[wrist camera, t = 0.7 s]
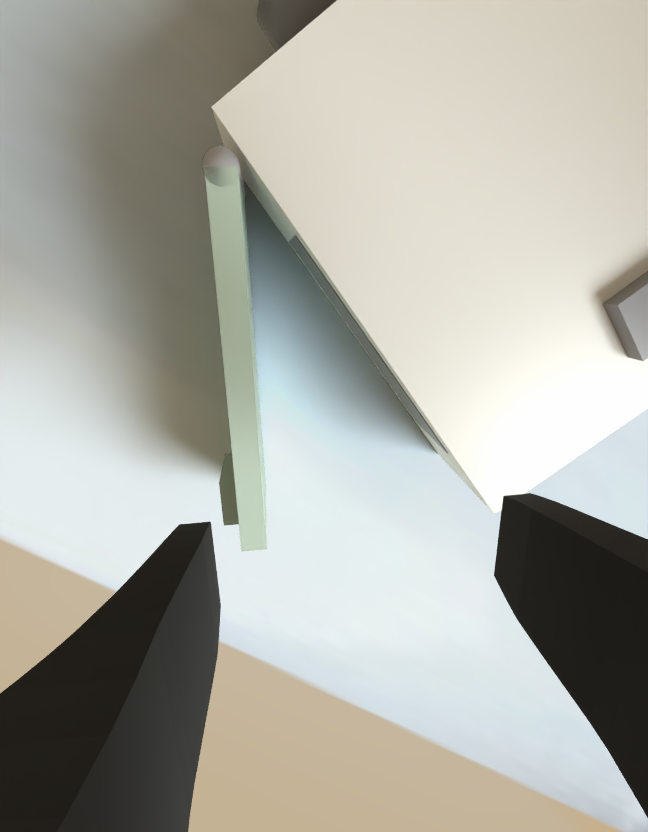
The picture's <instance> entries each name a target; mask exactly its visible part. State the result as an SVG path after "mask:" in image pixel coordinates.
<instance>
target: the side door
mask: <svg viewBox="0 0 648 832" xmlns="http://www.w3.org/2000/svg"><path fill="white" fill-rule="evenodd" d="M202 169H203V173H204V175H205V180H206V190H207V201H208V211H209V221H210V232H211V242H212V252H213V262H214V273H215V283H216V293H217V304H218V314H219V324H220V335H221V345H222V355H223V365H224V376H225V386H226V396H227V407H228V417H229V427H230V437H231V448H232V453H230V454H225V456H224V461H223V466H222V472H221V477H220V482H219V485H220V494H221V503H222V512H223V522H224V525H234V524H239V530H240V540H241V551H251V550H261V549H267V543H266V484H265V470H264V457H263V443H262V429H261V415H260V402H259V388H258V374H257V360H256V347H255V333H254V319H253V306H252V292H251V278H250V264H249V251H248V237H247V223H246V210H245V198H246V191H245V187H244V183H243V178H242V174H241V169H240V165H239V161H238V159H237V157H236V155H235V154H234V152H233V151H231V150H230V149H229V148H227V147H224V146H214V147H211V148H210V149H209V150H207V151H206V153H205V154H204V156H203V160H202Z"/></svg>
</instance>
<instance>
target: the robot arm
mask: <svg viewBox="0 0 648 832" xmlns="http://www.w3.org/2000/svg"><path fill="white" fill-rule="evenodd" d="M494 576H495V578H496V580H497V582H498V584H499V586H500V588H501V590H502V592H503V594H504V596H505V598H506V600H507V602H508V604H509V605H510V607H511V609H512V611H513V613H514V614H515V616H516V618H517V620H518V621H519V623H520V624H521V626H522V627H523V628H524V630H525V631H526V633H527V634H528V636H529V637H530V639H531V640H532V641H533V643H534V644H535V646H536V647H537V649H538V650H539V652H540V653H541V654H542V656H543V657H544V659H545V660H546V661H547V663H548V664H549V666H550V667H551V668H552V670H553V671H554V673H555V674H556V675H557V677H558V678H559V680H560V681H561V683H562V684H563V685H564V687H565V688H566V690H567V691H568V692H569V694H570V695H571V697H572V698H573V699H574V701H575V702H576V704H577V705H578V706H579V708H580V709H581V711H582V712H583V714H584V715H585V716H586V718H587V719H588V721H589V722H590V723H591V725H592V726H593V728H594V730H595V731H596V733H597V734H598V736H599V737H600V739H601V740H602V742H603V743H604V745H605V746H606V748H607V749H608V751H609V753H610V754H611V756H612V758H613V759H614V761H615V763H616V764H617V766H618V768H619V770H620V771H621V773H622V775H623V776H624V778H625V780H626V781H627V783H628V785H629V787H630V788H631V790H632V792H633V793H634V795H635V797H636V798H637V800H638V802H639V804H640V805H641V807H642V809H643V810H644V812H645V814H646V816H647V817H648V539H645V538H643V537H640V536H638V535H635V534H633V533H631V532H628V531H626V530H623V529H621V528H618V527H616V526H614V525H611V524H609V523H606V522H604V521H602V520H599V519H597V518H594V517H592V516H590V515H587V514H585V513H582V512H580V511H578V510H575V509H573V508H570V507H568V506H565V505H563V504H560V503H557V502H555V501H552V500H549V499H547V498H544V497H541V496H537V495H534V494H531V493H529V494H517V495H506V496H503V504H502V512H501V521H500V529H499V538H498V546H497V555H496V563H495V572H494ZM220 608H221V604H220V596H219V587H218V579H217V571H216V562H215V554H214V546H213V538H212V529H211V522H203V523H191V524H180V525H179V526H178V527H177V528H176V529H175V530H174V531H173V532H172V533H171V534H170V535H169V536H168V537H167V538H166V539H165V540H164V542H163V543H162V544H161V545H160V546H159V547H158V548H157V549H156V550H155V552H154V553H153V554H152V555H151V556H150V557H149V558H148V559H147V560H146V561H145V563H144V564H143V565H142V566H141V567H140V568H139V569H138V570H137V571H136V572H135V573H134V574H133V575H132V576H131V577H130V578H129V579H128V581H127V582H126V583H125V584H124V585H123V586H122V587H121V588H120V589H119V590H118V591H117V592H116V593H115V594H114V595H113V596H112V597H111V598H110V599H109V600H108V601H107V602H106V603H105V604H104V605H103V606H102V607H101V608H99V609H98V610H97V611H96V613H94V614H93V615H92V616H91V617H90V618H89V619H88V620H87V621H86V622H85V623H84V624H83V625H82V626H81V627H80V628H79V629H77V630H76V631H75V632H74V633H73V634H72V635H71V636H70V637H69V638H67V639H66V640H65V641H64V642H63V643H62V644H61V645H59V646H58V647H57V648H56V649H55V650H54V651H52V652H51V653H50V654H49V655H48V656H46V657H45V658H44V659H43V660H42V661H40V662H39V663H38V664H37V665H36V666H34V667H33V668H32V669H30V670H29V671H28V672H27V673H26V674H24V675H23V676H22V677H21V678H20V679H18V680H17V681H16V682H15V683H13V684H12V685H11V686H9V687H8V688H7V689H5V690H4V691H3V692H2V693H0V832H188V827H189V816H190V809H191V803H192V796H193V789H194V783H195V777H196V772H197V766H198V761H199V755H200V749H201V743H202V738H203V733H204V727H205V722H206V716H207V711H208V705H209V700H210V694H211V689H212V683H213V678H214V671H215V665H216V660H217V653H218V640H219V625H220Z"/></svg>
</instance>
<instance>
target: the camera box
mask: <svg viewBox="0 0 648 832" xmlns="http://www.w3.org/2000/svg"><path fill="white" fill-rule="evenodd" d="M257 19H258V22H259V25H260V26H261V28H262V30H263V31H264V33H265V34H266V36H267V38H268V39H269V41H270V43H271V44H272V46H273V47H274V49H275V51H276V52H275V53H274V54H273V55H272V56H271V57H269V58H268V59H267V60H266V61H265V62H264V63H262V64H261V65H260V66H259V67H258V68H257V69H255V70H254V71H253V72H252V73H251V74H249V75H248V76H247V77H246V78H245V79H244V80H242V81H241V82H240V83H239V84H238V85H236V86H235V87H234V88H233V89H232V90H231V91H229V92H228V93H227V94H226V95H225V96H223V97H222V98H221V99H220V100H219V101H218V102H216V103H215V104H214V105H213V106H212V107H211V108H212V111H213V114H214V117H215V120H216V123H217V126H218V129H219V132H220V136H221V139H222V142H223V145H224V147H227V148H229V149H230V150H231V151H233V152H234V154H235V155H236V157H237V159H238V161H239V165H240V169H241V174H242V178H243V179H244V181H245V182H246V184H247V185H248V186H249V188H250V189H251V191H252V192H253V194H254V195H255V196H256V198H257V199H258V201H259V202H260V203H261V205H262V206H263V208H264V209H265V210H266V212H267V213H268V215H269V216H270V217H271V219H272V220H273V222H274V223H275V225H276V226H277V227H278V229H279V230H280V232H281V233H282V234H283V236H284V237H285V239H286V240H287V241H288V243H289V244H290V246H291V247H292V248H293V250H294V251H295V253H296V254H297V256H298V257H299V258H300V260H301V261H302V263H303V264H304V265H305V267H306V268H307V270H308V271H309V272H310V274H311V275H312V277H313V278H314V280H315V281H316V282H317V284H318V285H319V287H320V288H321V289H322V291H323V292H324V294H325V295H326V296H327V298H328V299H329V301H330V302H331V303H332V305H333V306H334V308H335V309H336V311H337V312H338V313H339V315H340V316H341V318H342V319H343V320H344V322H345V323H346V325H347V326H348V327H349V329H350V330H351V332H352V333H353V335H354V336H355V337H356V339H357V340H358V342H359V343H360V344H361V346H362V347H363V349H364V350H365V351H366V353H367V354H368V356H369V357H370V358H371V360H372V361H373V363H374V364H375V366H376V367H377V368H378V370H379V371H380V373H381V374H382V375H383V377H384V378H385V380H386V381H387V382H388V384H389V385H390V387H391V388H392V390H393V391H394V392H395V394H396V395H397V397H398V398H399V399H400V401H401V402H402V404H403V405H404V406H405V408H406V409H407V411H408V412H409V413H410V415H411V416H412V418H413V419H414V421H415V422H416V423H417V425H418V426H419V428H420V429H421V430H422V432H423V433H424V435H425V436H426V437H427V439H428V440H429V442H430V443H431V445H432V446H433V447H434V449H435V450H436V452H437V453H438V454H439V455H440V457H441V458H442V459H443V460H444V461H445V462H446V463H447V464H448V465H449V466H450V467H451V468H452V469H453V471H454V472H455V473H456V474H457V475H458V476H459V477H460V478H461V479H462V480H463V481H464V482H465V483H466V484H467V486H468V487H469V488H470V489H471V490H472V491H473V492H474V493H475V494H476V495H477V496H478V497H479V498H480V500H481V501H482V502H483V503H484V504H485V505H486V506H487V507H488V508H489V509H490V510H491V511H492V512H493V513H494V514H495V513H497V512H498V511H500V510H501V509H502V504H503V496H506V495H517V494H524V493H526V492H527V491H529V490H530V489H532V488H533V487H534V486H536V485H537V484H539V483H540V482H542V481H543V480H545V479H546V478H547V477H549V476H550V475H552V474H553V473H555V472H556V471H558V470H559V469H560V468H562V467H563V466H565V465H566V464H568V463H569V462H571V461H572V460H574V459H575V458H576V457H578V456H579V455H581V454H582V453H584V452H585V451H587V450H588V449H589V448H591V447H592V446H594V445H595V444H597V443H598V442H600V441H601V440H602V439H604V438H605V437H607V436H608V435H610V434H611V433H613V432H614V431H615V430H617V429H618V428H620V427H621V426H623V425H624V424H626V423H627V422H628V421H630V420H631V419H633V418H634V417H636V416H637V415H639V414H640V413H642V412H643V411H644V410H646V409H647V408H648V0H259V4H258V9H257Z"/></svg>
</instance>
